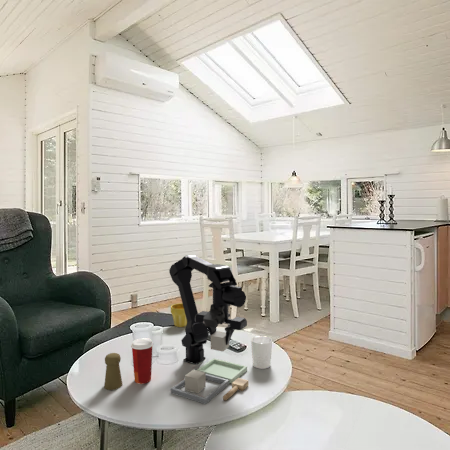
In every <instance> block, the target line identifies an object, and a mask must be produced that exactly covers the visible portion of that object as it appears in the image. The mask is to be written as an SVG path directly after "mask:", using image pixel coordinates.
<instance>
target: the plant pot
mask: <svg viewBox="0 0 450 450" xmlns="http://www.w3.org/2000/svg"><path fill="white" fill-rule="evenodd" d="M170 314H171V315H172V319H173V325H174V326H175V327H177V328H184V327H185V328H186V324H187V319H186V315H185V311H184V307H183V304H182V302H180V303H174V304H172V305H171V306H170Z"/></svg>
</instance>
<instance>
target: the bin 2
mask: <svg viewBox="0 0 450 450" xmlns="http://www.w3.org/2000/svg"><path fill="white" fill-rule="evenodd" d="M196 371H200V372H205V373H206V374H209V375H212V376H216V377H220V378H223V379H227V380H229V384H232V383H233V382H234V381H235V380H236V379H237V378H241V376H243V375H244V374H245V373H246V372H247V371H248V366H247V365H242V364H239V363H235V362H231V361H226V360H223V359H219V358H215V357H214V358H212V359H211V360H209V361H207V362H206V363H204V364H203V365H201V367H199V368H197V369H196Z"/></svg>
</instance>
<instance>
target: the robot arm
mask: <svg viewBox="0 0 450 450" xmlns="http://www.w3.org/2000/svg"><path fill="white" fill-rule="evenodd" d="M193 270H196V271H198V272H199V273H202V275H205V276H206V278H207V280H209V281H210V284H208V288H212V303H211V304H210V309H209V311H206V310H202V311H199V312H198V307H197V304H196V301H195V297H194V293H193V289H192V285H191V280H192V277H193V274H192V272H193ZM168 272H169V275H170V278H171V281H172V282H173V283H174V284H175V285H176V286H177V287H178V291H179V296H180V299H181V300H180V301H181V303H182V304H183V307H184V311H185V315H186V319H187V324H186V326H185V328H184V329H185V330H184V331H185V335H184V336H183V338H182V339H181V340H180V341H181V344H182V346H183V347H184V348H185V358H183V362H186V363H191V364H193V365H198V364H200V363H201V362H203V361H204V360H205V359H206V356H205V349H204V345H205V344H207V341H208V337H209V336H211V335H212V334H214V333H215V332H216V331H217V327H218V326H219V325H223V324H226V325H227V326H226V327H224V332H226V345H228V343H229V344H230V340H231V338H232V336H233V334H234V332H235V331H241V330H243V329H244V328H246V327H247V325H248V321H247V319H246V318H245V317H240V316H235V317H234V318H230V317H231V313H229V307H230V306H233V307H236V308H241V307H243V306H244V305H245V303H246V300H247V295H246V293H245V291H244V290H242V289H243V287H242V286H238V283H237V281H236V280H237V279H236V278H235V276H234V274H233V272H232V270H231V267H230V266H228V265H225V264H216V263H215V264H214V263H212V262H209V261H207V260H206V259H205V260H204V259H203V258H201V257H198V256H197V255H195V254H191V255H190V254H189V255H185V256H183V257H182V258H181V259H179V260H178V261H176V262H174V263H173V264H171V266H170V267H169V269H168Z"/></svg>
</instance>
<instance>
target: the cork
mask: <svg viewBox="0 0 450 450" xmlns="http://www.w3.org/2000/svg"><path fill="white" fill-rule="evenodd" d="M121 359H122V358H121V355H120V354H119V353H118V352H110V353H108V354H106V356H105V357H104V364H105V367H106V368H105V376H104V377H105V378H104V386H103V387H104V389H105V390H107V391H115V390H119V389H120V388H121V387H122V386H123V380H122V373H121V369H120V367H121V366H120V363H121Z"/></svg>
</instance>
